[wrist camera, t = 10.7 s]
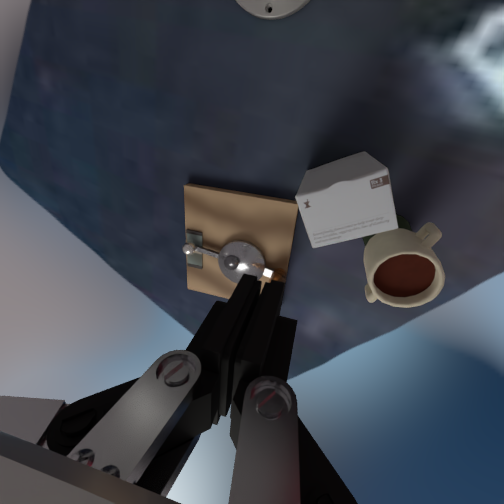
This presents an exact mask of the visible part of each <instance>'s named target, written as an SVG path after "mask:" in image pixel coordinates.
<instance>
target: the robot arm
mask: <svg viewBox="0 0 504 504" xmlns="http://www.w3.org/2000/svg"><path fill="white" fill-rule="evenodd" d="M236 1H237V3H238V4H239V5H240V6H241V7H242V8H243V9H244V10H246V11H247V12H249V13H250V14H251V15H253V16H256V17H258V18H261V19H268V20H275V19H282V18H285V17H287V16H290V15H292V14H294V13H296V12H297V11H299V10H300V9H302V8H303V7H304V6H305V5H306V4H307V3H308V2H309V1H310V0H236ZM270 8H272V12H271V13H269V12H268V11H269V9H270ZM257 279H258V278H257V276H254V275H249V274H245V273H244V274H243V275H242V277H241V279H240V281H239V282H238V284H237V286H236V288H235V290H234V291H233V293H232V295H231V297H230V299H229V300H228V302H227V303H226V302H222V301H216V302H215V304H214V305H213V307H212V308H211V310H210V312H209V313H208V315H207V316H206V318H205V320H204V321H203V323H202V324H201V326H200V328H199V329H198V331H197V332H196V334H195V336H194V337H193V339H192V341H191V342H190V344H189V345H188V347H187V349H186V350H174V351H170V352H168V353H166V354H164V355H162V356H161V357H159V358H158V359H157V360H156V361H155V362H154V363H153V364H152V365H151V367H150V368H149V369H148V370H147V371H146V372H145V373H144V374H143V375H142V376H141V377H139V378H136V379H134V380H131V381H129V382H126V383H123V384H120V385H118V386H115V387H112V388H110V389H107V390H104V391H102V392H99V393H96V394H94V395H91V396H88V397H86V398H83V399H80V400H78V401H76V402H74V403H72V404H66V402H65V400H52V399H39V398H25V397H11V396H0V504H181V503H178V502H176V501H173V500H171V499H168V498H166V496H167V494H168V493H169V491H170V489H171V488H172V485H173V484H174V482H175V480H176V478H177V477H178V475H179V474H180V472H181V470H182V468H183V467H184V465H185V463H186V461H187V460H188V457H189V456H190V454H191V453H192V451H193V449H194V447H195V445H196V444H197V442H198V440H199V438H200V435H201V433H203V432H205V431H207V430H209V429H210V428H211V426H212V423H213V424H215V425H217V424H218V421H219V419H220V416H221V415H222V416H226V415H227V413H228V410H229V408H230V405H231V414H230V418H231V426H230V427H231V428H230V437H231V439H232V441H233V443H234V446H235V448H236V457H235V464H234V470H233V477H232V484H231V490H230V497H229V504H357V502H356V500H355V498H354V497H353V495H352V494H351V493H350V491H349V489H348V488H347V487H346V485H345V484H344V482H343V481H342V479H341V478H340V476H339V475H338V473H337V472H336V471H335V469H334V468H333V466H332V465H331V463H330V462H329V460H328V459H327V458H326V456H325V455H324V453H323V452H322V450H321V449H320V447H319V446H318V444H317V443H316V441H315V440H314V439H313V437H312V436H311V434H310V433H309V431H308V430H307V428H306V427H305V425H304V424H303V423H302V421H301V420H300V418H299V417H298V415H297V414H298V412H297V399H296V395H295V393H294V391H293V389H292V388H291V387H290V385H288V383H287V377H288V371H289V366H290V360H291V354H292V349H293V343H294V337H295V332H296V326H297V320H294V319H290V318H286V317H282V316H279V315H280V310H281V304H282V298H283V293H284V287H285V282H280V281H276V280H271V282H270V283H268V282H265V284H264V287H263V289H262V292H261V285H262V281H259V280H257ZM260 293H261V294H260Z"/></svg>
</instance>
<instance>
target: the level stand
mask: <svg viewBox="0 0 504 504" xmlns="http://www.w3.org/2000/svg"><path fill="white" fill-rule="evenodd" d="M184 199H185V227H186V243H187V242H192V243H194V244H196V245H199V246H202V247H204V248H207V249H210V250H213V251H216V252H219V253H220V251H221V250H222V248H223V247H224V246H225V245H226V244H227V243H229V242H231V241H234V240H245V241H249V242H251V243H253V244H254V245H256V246H257V247H258V248H259V249H260V250H261V251H262V253H263V255H264V257H265V260H266V266H267V267H270V268H272V269H277V268H280V269H283V270H284V271H285V272H286V274H287V270H288V265H289V259H290V253H291V248H292V242H293V237H294V231H295V225H296V220H297V214H298V208H299V207H298V204H297V201H294V200H287V199H281V198H275V197H269V196H263V195H257V194H251V193H245V192H239V191H233V190H227V189H221V188H214V187H208V186H202V185H196V184H190V183H188V184H186V185H184ZM186 255H187V254H186ZM269 280H270V277H267V276H264V275H262V277H261V278H260V279H259V281H262V285H261V292H262V289H263V287H264V284H265V282H269ZM285 282H286V280H285ZM187 283H188V289H191V290H195V291H199V292H203V293H207V294H211V295H215V296H220V297H224V298H228V299H230V297H231V295H232V293H233V291H234V290H235V288H236V286H237V283H234V282H232V281H231V280H229V279H228V278H227V277H225V275H224V274H223V273H222V271H221V270H220V267H219V264H218V258H215V257H212V256H209V255H207V254H204V253H201V252H198V251H195V253H194V254H192V255H187ZM260 294H261V293H260ZM282 299H283V298H282Z"/></svg>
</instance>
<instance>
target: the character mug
mask: <svg viewBox="0 0 504 504" xmlns="http://www.w3.org/2000/svg"><path fill="white" fill-rule="evenodd" d="M396 218H397V223H398V229H394V230H389V231H385V232H381V233H377V234H373V235H369V236H364V237H362V238H363V241H364V244H365V246H366V247H365V249H364V265H365V270H366V275H367V280H368V284H367V285H366V286H365V294H366V299H367V300H368V301H369V302H371V303H373V302H374V301H376V300H377V299H379V300H380V301H381V302H383V303H386V304H389V305H391V306H394V307H407V308H408V307H414V306H419V305H423V304H425V303H427V302H429V301H431V300H432V299H434V298H435V297H436V296H437V295H438V294H439V293H440V291H441V290H442V288H443V286H444V280H445V274H444V271H443V268H442V265H441V262H440V261H439V259H438V258H437V256H436V255H435V253H434V252H433V250H432V249H431V247H432V246H433V245H434V244H435V243H436V242H437V241H438V240H439V239H440V238H441V237H442V233H441V231H440V230H439V229H438V228H437V227H436V226H435V224H434V223H426V224H425V225H424V226H423V227H422V228H421V229H420V230H419V231H418V232H417V233H415V232H412V230H411V227H410V224H409V222H408V221H407V220H405V219H404V218H403V217H402V216H399V215H396ZM428 234H429V236H428V237H427V238H426V239H425V240H424V238H425V237H426V236H427V235H428Z"/></svg>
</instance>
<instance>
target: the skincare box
mask: <svg viewBox="0 0 504 504" xmlns="http://www.w3.org/2000/svg"><path fill="white" fill-rule="evenodd" d="M295 198H296V201H297V204H298V207H299V210H300V213H301V216H302V219H303V222H304V225H305V228H306V231H307V234H308V236H309V239H310V242H311V245H312V247H313V248H316V247H321V246H325V245H329V244H334V243H338V242H343V241H347V240H351V239H356V238H360V237H364V236H369V235H373V234H377V233H381V232H385V231H389V230H394V229H398V223H397V218H396V212H395V206H394V200H393V195H392V189H391V183H390V177H389V171H388V168H387V167H386V166H384V165H383V164H381V163H380V162H379V161H377V160H376V159H375V158H373V157H372V156H370V155H369V154H368V153H366V152H365V151H364V152H360V153H357V154H354V155H351V156H348V157H345V158H342V159H339V160H336V161H333V162H330V163H327V164H324V165H322V166H319V167H317V168H314V169H311V170H307V171H306V173H305V176H304V178H303V180H302V183H301V185H300V187H299V190H298V192H297V194H296V196H295Z"/></svg>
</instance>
